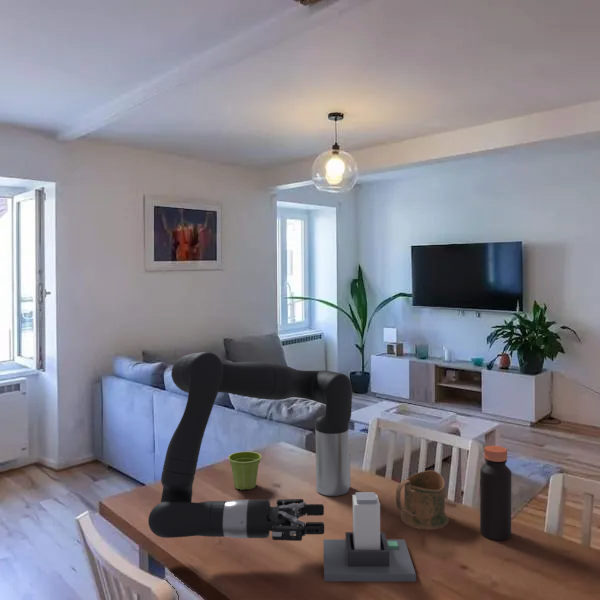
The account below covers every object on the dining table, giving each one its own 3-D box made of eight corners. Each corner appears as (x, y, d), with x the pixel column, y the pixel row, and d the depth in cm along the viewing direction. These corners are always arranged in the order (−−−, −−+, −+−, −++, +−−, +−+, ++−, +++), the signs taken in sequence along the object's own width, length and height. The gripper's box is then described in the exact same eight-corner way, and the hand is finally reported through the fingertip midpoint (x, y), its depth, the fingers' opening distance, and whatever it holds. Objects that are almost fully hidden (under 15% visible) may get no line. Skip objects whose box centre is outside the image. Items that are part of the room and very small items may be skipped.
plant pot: (243, 477, 164) (243, 449, 164) (268, 484, 159) (268, 454, 158) (222, 488, 157) (221, 458, 156) (247, 495, 151) (246, 464, 151)
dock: (324, 581, 109) (324, 559, 109) (323, 545, 123) (323, 526, 123) (415, 581, 108) (415, 559, 108) (404, 546, 122) (404, 526, 122)
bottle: (483, 524, 132) (483, 442, 131) (513, 531, 128) (514, 446, 127) (477, 536, 126) (477, 450, 125) (508, 543, 123) (508, 455, 121)
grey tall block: (353, 549, 118) (352, 491, 117) (377, 549, 118) (376, 491, 117) (355, 562, 113) (354, 501, 112) (380, 562, 113) (379, 501, 112)
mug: (377, 528, 131) (376, 479, 130) (416, 504, 144) (416, 459, 143) (420, 544, 123) (419, 491, 122) (457, 517, 136) (457, 470, 135)
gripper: (242, 516, 108) (324, 516, 108) (250, 487, 123) (323, 487, 122) (242, 553, 109) (324, 553, 108) (251, 520, 123) (323, 520, 123)
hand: (324, 518), depth 115 cm, fingers open, 8 cm apart
